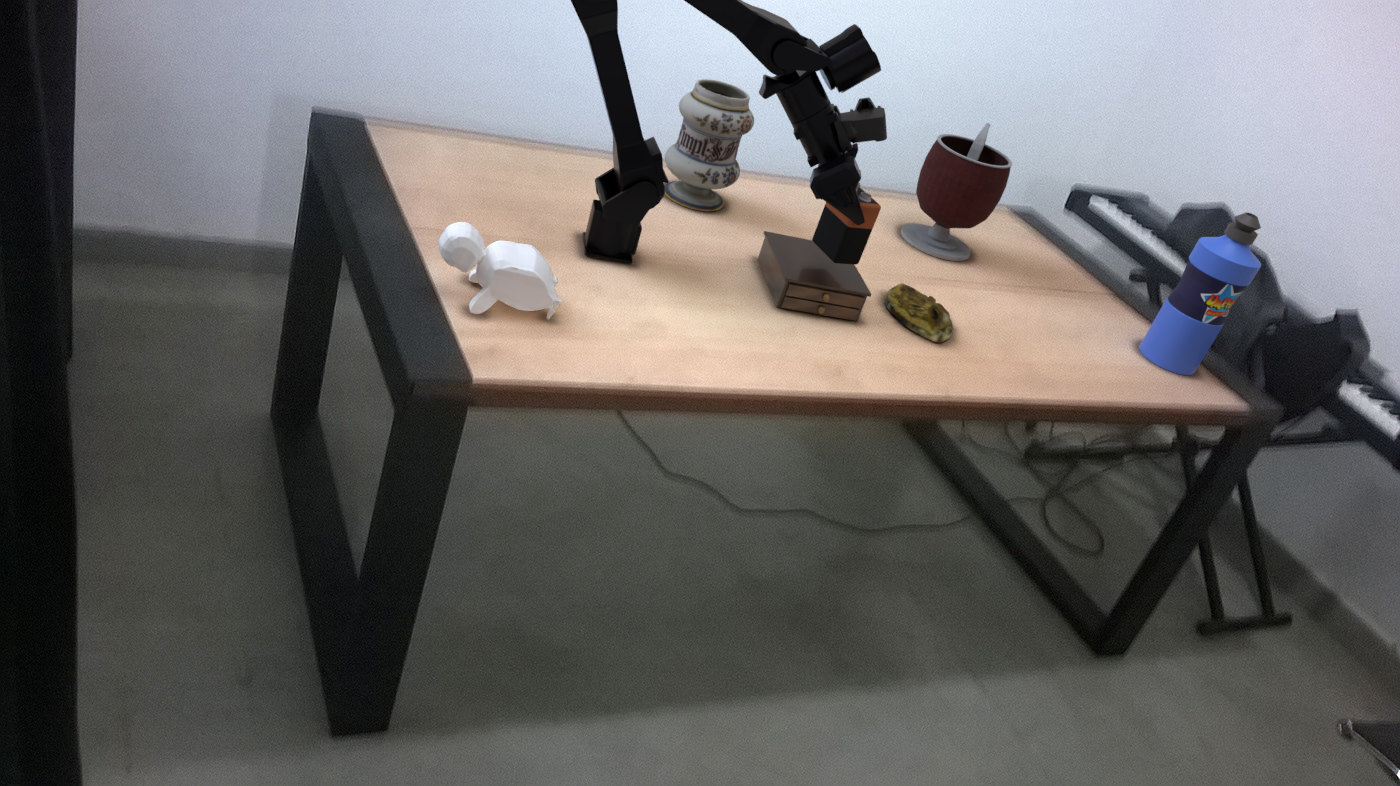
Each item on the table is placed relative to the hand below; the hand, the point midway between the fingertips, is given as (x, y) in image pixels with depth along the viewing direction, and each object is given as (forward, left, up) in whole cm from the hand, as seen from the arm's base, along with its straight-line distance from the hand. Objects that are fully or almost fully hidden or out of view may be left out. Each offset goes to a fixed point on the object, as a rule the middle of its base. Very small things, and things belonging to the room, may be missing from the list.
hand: (860, 213), depth 145 cm
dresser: (-3, +1, -13) cm, 14 cm away
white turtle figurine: (-47, -17, -13) cm, 52 cm away
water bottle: (+58, 0, -13) cm, 59 cm away
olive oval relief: (+14, -1, -13) cm, 19 cm away
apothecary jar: (-16, +27, -13) cm, 34 cm away
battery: (-1, 0, -7) cm, 7 cm away
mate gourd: (+28, +29, -13) cm, 42 cm away
